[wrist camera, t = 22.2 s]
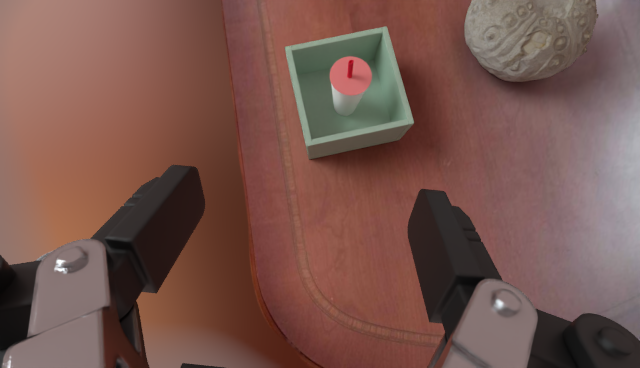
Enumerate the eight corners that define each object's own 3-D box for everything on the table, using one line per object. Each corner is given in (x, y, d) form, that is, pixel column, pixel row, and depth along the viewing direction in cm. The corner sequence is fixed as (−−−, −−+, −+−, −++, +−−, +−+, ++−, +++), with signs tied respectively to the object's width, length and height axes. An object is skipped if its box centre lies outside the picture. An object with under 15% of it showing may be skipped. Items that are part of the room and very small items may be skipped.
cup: (320, 102, 45) (321, 56, 33) (347, 83, 45) (357, 32, 33) (341, 128, 44) (349, 91, 32) (368, 109, 44) (386, 65, 33)
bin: (308, 159, 44) (306, 146, 37) (290, 74, 46) (284, 46, 39) (399, 140, 45) (414, 123, 37) (376, 57, 47) (386, 26, 40)
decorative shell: (564, 95, 46) (631, 59, 36) (454, 92, 46) (491, 54, 36) (554, -3, 48) (614, -61, 39) (450, -6, 49) (483, -65, 39)
